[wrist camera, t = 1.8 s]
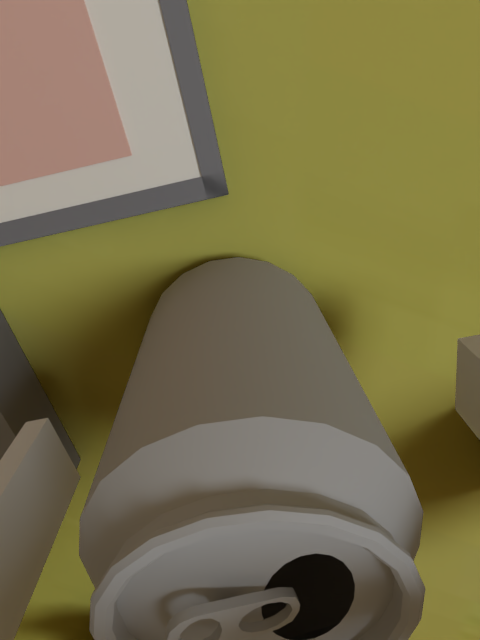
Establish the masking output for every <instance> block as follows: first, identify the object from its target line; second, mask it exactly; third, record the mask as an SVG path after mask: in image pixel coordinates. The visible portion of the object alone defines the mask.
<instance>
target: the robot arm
mask: <svg viewBox="0 0 480 640" xmlns="http://www.w3.org/2000/svg"><path fill="white" fill-rule="evenodd" d="M455 410H456V411H457V412H458V414H459V415H460V416H461V417H462V419H463V420H464V421H465V422H466V424H467V425H468V426H469V427H470V429H471V430H472V431H473V433H474V434H475V435H476V436H477V438H478V439H479V440H480V335H475V336H470V337H465V338H459V339H458V347H457V373H456V398H455ZM79 480H80V475H79V473H78V472H77V470H76V468H75V466H74V464H73V462H72V461H71V459H70V457H69V455H68V453H67V451H66V450H65V448H64V446H63V444H62V442H61V441H60V439H59V437H58V435H57V433H56V431H55V430H54V428H53V426H52V424H51V422H50V420H49V419H48V418H44V419H39V420H34V421H29V422H26V423H25V424H24V425H23V427H22V428H21V430H20V431H19V433H18V434H17V436H16V437H15V439H14V440H13V442H12V443H11V445H10V446H9V448H8V449H7V451H6V452H5V454H4V455H3V457H2V458H1V460H0V640H14V638H15V635H16V633H17V630H18V628H19V626H20V623H21V621H22V618H23V616H24V613H25V611H26V609H27V606H28V604H29V601H30V599H31V596H32V594H33V592H34V589H35V587H36V584H37V582H38V579H39V577H40V575H41V572H42V570H43V567H44V565H45V562H46V560H47V558H48V555H49V553H50V550H51V548H52V545H53V543H54V541H55V538H56V536H57V533H58V531H59V528H60V526H61V524H62V521H63V519H64V516H65V514H66V511H67V509H68V506H69V504H70V502H71V499H72V497H73V494H74V492H75V489H76V487H77V485H78V482H79Z"/></svg>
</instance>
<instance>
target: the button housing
mask: <svg viewBox="0 0 480 640" xmlns="http://www.w3.org/2000/svg"><path fill="white" fill-rule="evenodd" d="M44 418H48V419H49V420H50V422H51V424H52V426H53V428H54V430H55V431H56V433H57V435H58V437H59V439H60V441H61V442H62V444H63V446H64V448H65V450H66V451H67V453H68V455H69V457H70V459H71V461H72V462H73V464H74V466H75V468H76V469H77V467H78V464H79V462H80V460H81V459H80V457H79V456H78V454H77V452H76V450H75V448H74V446H73V444H72V442H71V441H70V439H69V437H68V435H67V433H66V431H65V429H64V427H63V426H62V424H61V422H60V420H59V418H58V416H57V414H56V413H55V411H54V409H53V407H52V405H51V403H50V401H49V399H48V398H47V396H46V394H45V392H44V390H43V388H42V386H41V384H40V383H39V381H38V379H37V377H36V375H35V373H34V371H33V370H32V368H31V366H30V364H29V362H28V360H27V358H26V356H25V355H24V353H23V351H22V349H21V347H20V345H19V343H18V341H17V340H16V338H15V336H14V334H13V332H12V330H11V328H10V327H9V325H8V323H7V321H6V319H5V317H4V315H3V313H2V312H1V310H0V460H1V458H2V457H3V455H4V454H5V452H6V451H7V449H8V448H9V446H10V445H11V443H12V442H13V440H14V439H15V437H16V436H17V434H18V433H19V431H20V430H21V428H22V427H23V425H24V424H25V423H26V422H29V421H34V420H39V419H44Z"/></svg>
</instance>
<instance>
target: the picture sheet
mask: <svg viewBox="0 0 480 640" xmlns="http://www.w3.org/2000/svg"><path fill="white" fill-rule="evenodd" d="M224 195H228V189H227V185H226V180H225V175H224V171H223V166H222V162H221V157H220V152H219V148H218V143H217V139H216V134H215V129H214V125H213V120H212V115H211V111H210V106H209V102H208V97H207V92H206V88H205V83H204V79H203V74H202V69H201V65H200V60H199V56H198V51H197V46H196V42H195V37H194V33H193V28H192V23H191V19H190V14H189V10H188V5H187V0H0V246H4V245H8V244H13V243H17V242H22V241H26V240H30V239H35V238H39V237H44V236H48V235H52V234H57V233H61V232H66V231H70V230H74V229H79V228H83V227H87V226H92V225H96V224H101V223H105V222H109V221H114V220H118V219H123V218H127V217H131V216H136V215H140V214H145V213H149V212H153V211H158V210H162V209H167V208H171V207H175V206H180V205H184V204H189V203H193V202H197V201H202V200H206V199H210V198H215V197H219V196H224Z"/></svg>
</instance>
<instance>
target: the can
mask: <svg viewBox="0 0 480 640" xmlns="http://www.w3.org/2000/svg"><path fill="white" fill-rule="evenodd" d="M422 519H423V509H422V507H421V504H420V502H419V499H418V496H417V494H416V491H415V489H414V486H413V484H412V481H411V479H410V476H409V474H408V472H407V470H406V469H405V467H404V465H403V463H402V461H401V459H400V457H399V456H398V454H397V452H396V450H395V448H394V446H393V445H392V443H391V441H390V439H389V437H388V435H387V433H386V432H385V430H384V428H383V426H382V424H381V422H380V420H379V419H378V417H377V415H376V413H375V411H374V409H373V407H372V406H371V404H370V402H369V400H368V398H367V396H366V394H365V393H364V391H363V389H362V387H361V385H360V383H359V381H358V380H357V378H356V376H355V374H354V372H353V370H352V368H351V367H350V365H349V363H348V361H347V359H346V357H345V355H344V354H343V352H342V350H341V348H340V346H339V344H338V343H337V341H336V339H335V337H334V335H333V333H332V331H331V330H330V328H329V326H328V324H327V322H326V320H325V318H324V317H323V315H322V313H321V311H320V309H319V307H318V305H317V304H316V302H315V300H314V298H313V296H312V294H311V293H310V292H309V291H308V290H307V289H306V288H305V287H304V286H303V285H302V284H301V283H300V282H299V281H298V280H297V278H296V277H295V276H294V275H292V274H290V273H288V272H286V271H284V270H283V269H281V268H279V267H277V266H275V265H273V264H271V263H269V262H265V261H259V260H253V259H247V258H241V257H236V258H229V259H221V260H214V261H208V262H206V263H204V264H202V265H200V266H198V267H196V268H194V269H192V270H190V271H187V272H185V273H183V274H182V275H181V276H180V277H179V278H178V279H177V280H176V281H175V282H174V283H173V284H171V285H170V286H169V287H168V288H167V289H166V290H165V291H164V292H163V293H162V295H161V297H160V299H159V301H158V303H157V305H156V307H155V309H154V311H153V313H152V315H151V318H150V321H149V323H148V326H147V329H146V332H145V335H144V338H143V340H142V343H141V346H140V349H139V352H138V355H137V358H136V360H135V363H134V366H133V369H132V372H131V375H130V378H129V380H128V383H127V386H126V389H125V392H124V395H123V397H122V400H121V403H120V406H119V409H118V412H117V415H116V417H115V420H114V423H113V426H112V429H111V432H110V435H109V437H108V440H107V443H106V446H105V449H104V452H103V454H102V457H101V460H100V463H99V466H98V469H97V472H96V474H95V477H94V480H93V483H92V486H91V489H90V492H89V494H88V497H87V500H86V503H85V506H84V509H83V511H82V514H81V517H80V538H79V556H80V558H81V560H82V562H83V564H84V566H85V568H86V571H87V573H88V575H89V577H90V579H91V581H92V583H93V585H94V587H95V590H94V592H93V593H92V596H91V604H90V628H89V631H90V633H91V634H92V636H93V638H94V640H408V639H409V637H410V636H411V634H412V633H413V631H414V630H415V628H416V627H417V625H418V624H419V622H420V620H421V616H422V609H423V602H424V594H425V587H424V584H423V582H422V580H421V578H420V575H419V573H418V571H417V569H416V567H415V564H414V562H413V561H414V558H415V556H416V553H417V551H418V548H419V545H420V536H421V527H422Z"/></svg>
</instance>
